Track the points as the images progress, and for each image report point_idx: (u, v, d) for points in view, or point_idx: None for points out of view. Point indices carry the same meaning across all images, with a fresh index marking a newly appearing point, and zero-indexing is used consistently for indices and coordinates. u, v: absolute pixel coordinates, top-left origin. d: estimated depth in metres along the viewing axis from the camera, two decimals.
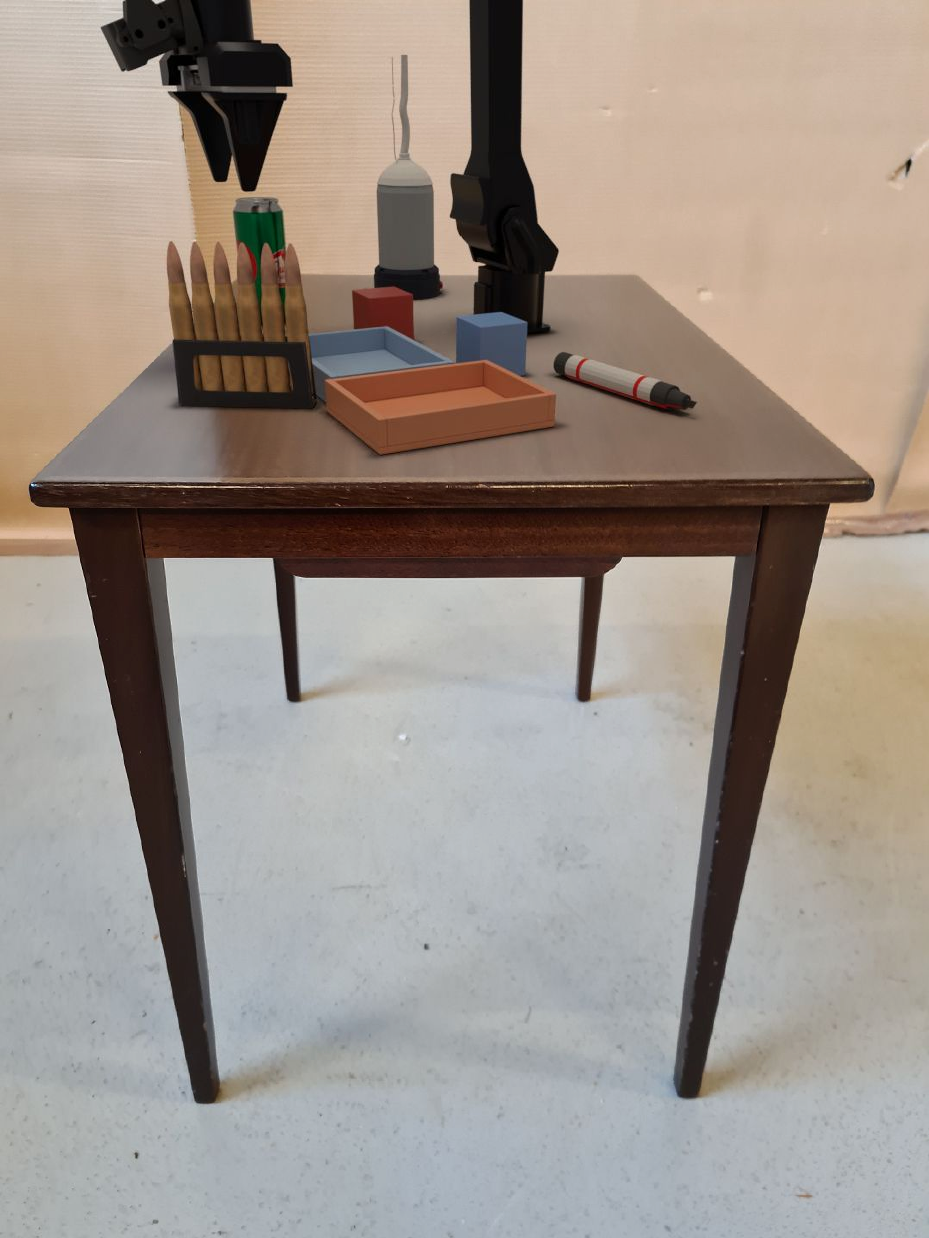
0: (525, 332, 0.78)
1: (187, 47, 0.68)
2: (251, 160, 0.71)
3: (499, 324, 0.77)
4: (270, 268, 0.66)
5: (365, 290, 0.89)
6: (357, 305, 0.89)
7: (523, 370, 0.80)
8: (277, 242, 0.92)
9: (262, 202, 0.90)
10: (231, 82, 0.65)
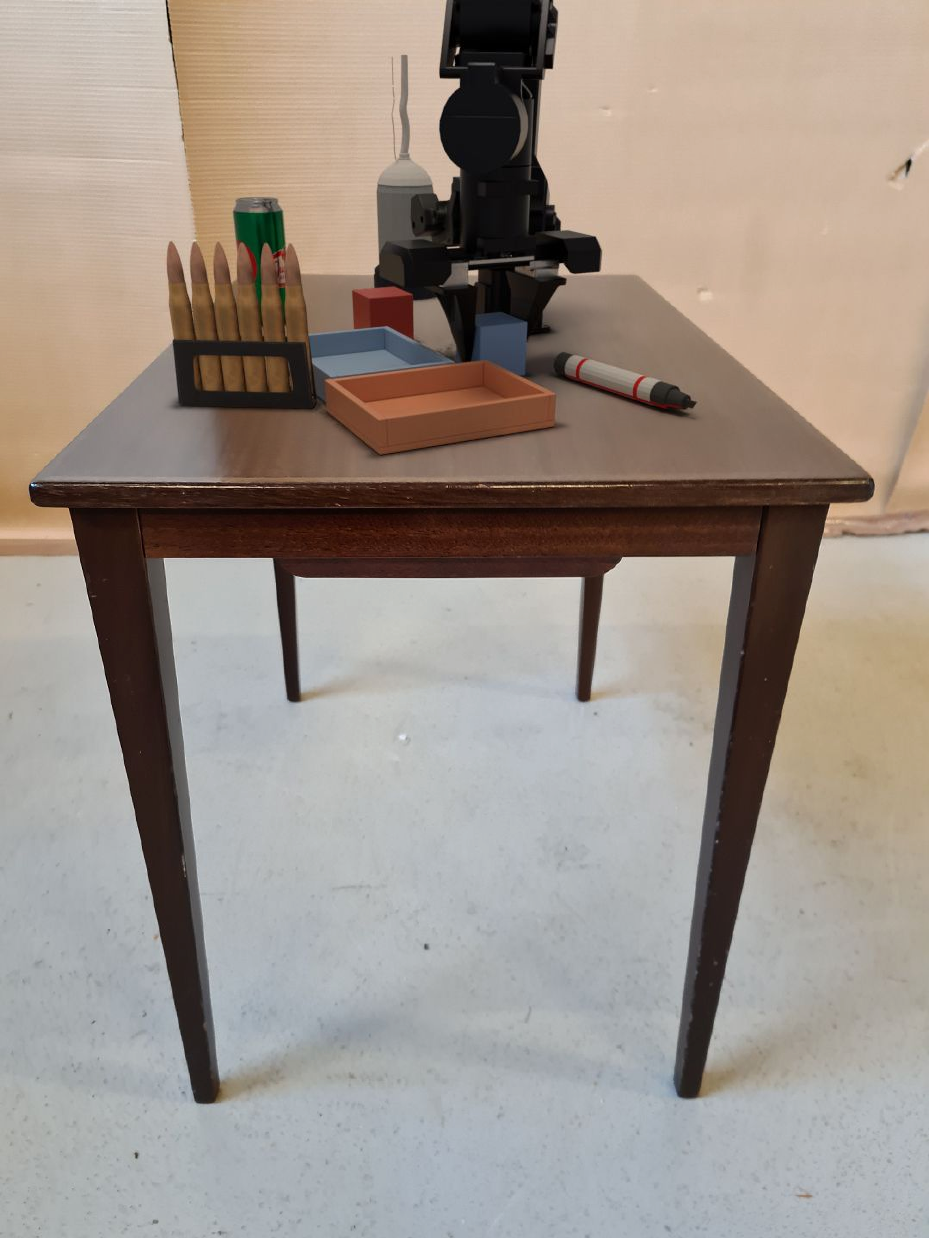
0: (525, 332, 0.78)
1: (446, 238, 0.76)
2: (458, 338, 0.77)
3: (499, 324, 0.77)
4: (270, 268, 0.66)
5: (365, 290, 0.89)
6: (357, 305, 0.89)
7: (523, 370, 0.80)
8: (277, 242, 0.92)
9: (262, 202, 0.90)
10: (383, 274, 0.74)
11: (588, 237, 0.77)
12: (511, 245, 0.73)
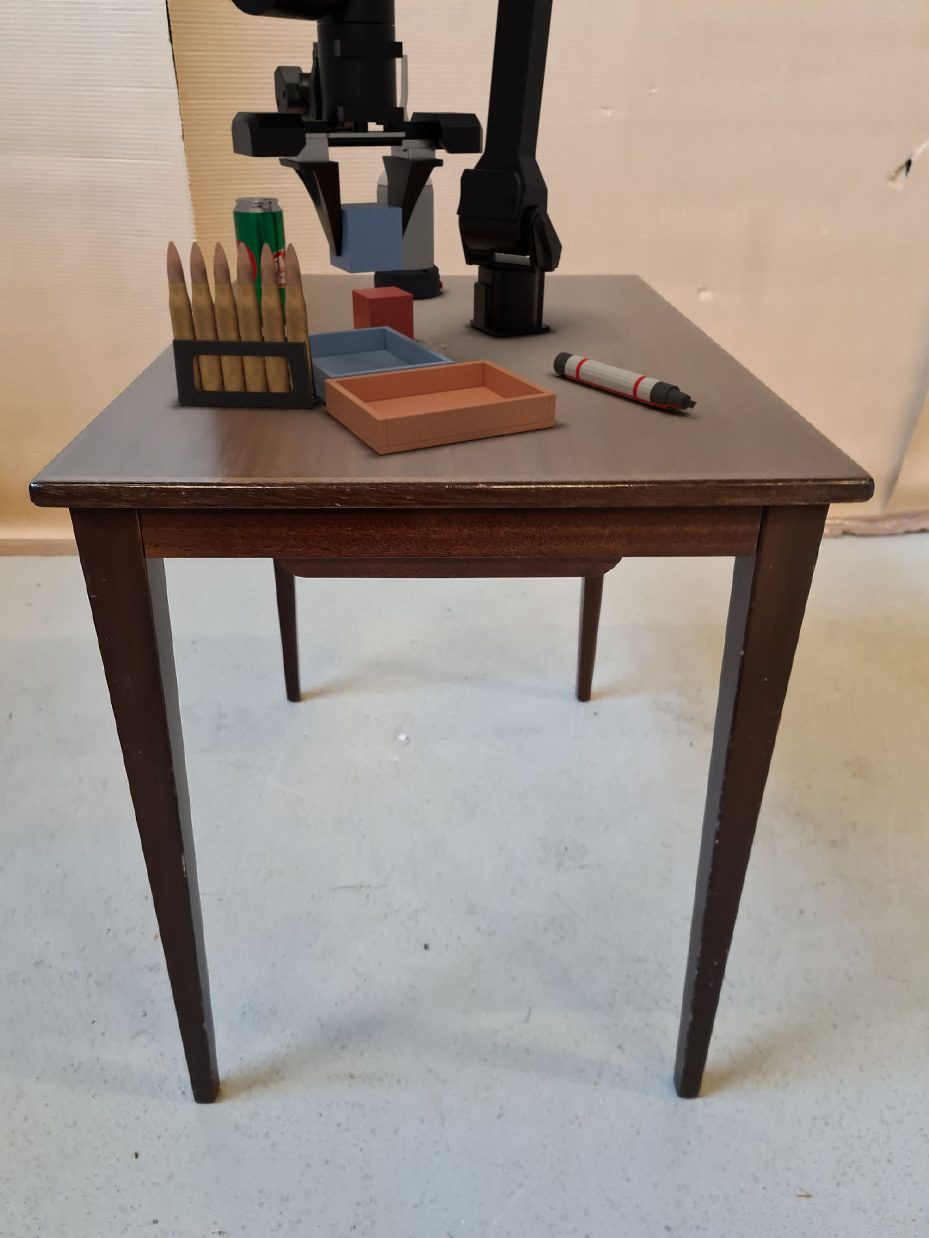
0: (400, 219, 0.71)
1: (310, 114, 0.70)
2: (326, 226, 0.71)
3: (369, 209, 0.70)
4: (270, 268, 0.66)
5: (365, 290, 0.89)
6: (357, 305, 0.89)
7: (400, 263, 0.73)
8: (277, 242, 0.92)
9: (262, 202, 0.90)
10: (236, 149, 0.67)
11: (466, 114, 0.70)
12: (375, 115, 0.66)
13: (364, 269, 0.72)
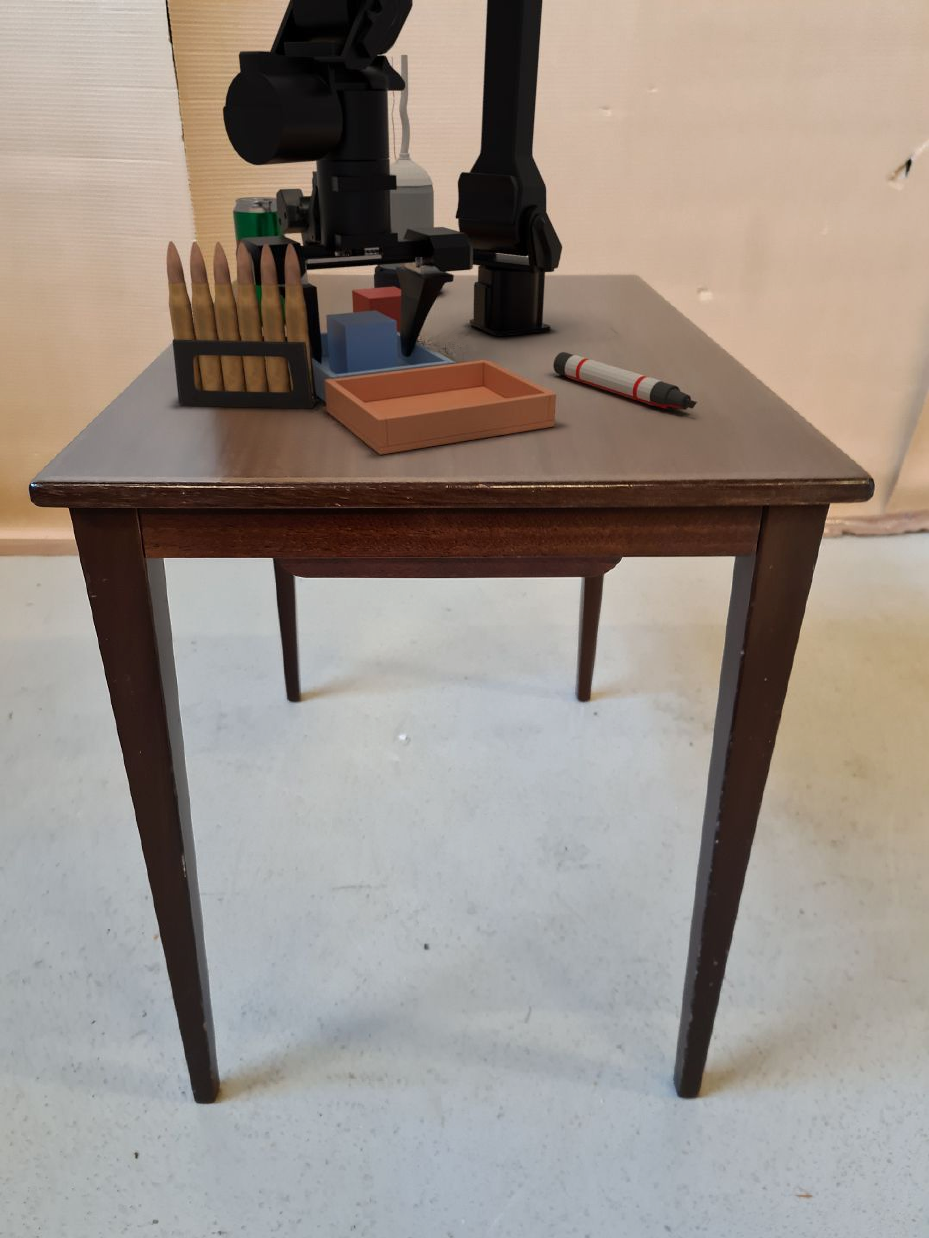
0: (395, 331, 0.75)
1: (310, 235, 0.74)
2: None
3: (366, 323, 0.74)
4: (270, 268, 0.66)
5: (365, 290, 0.89)
6: (357, 305, 0.89)
7: None
8: None
9: (262, 202, 0.90)
10: None
11: (457, 234, 0.74)
12: (371, 242, 0.71)
13: None
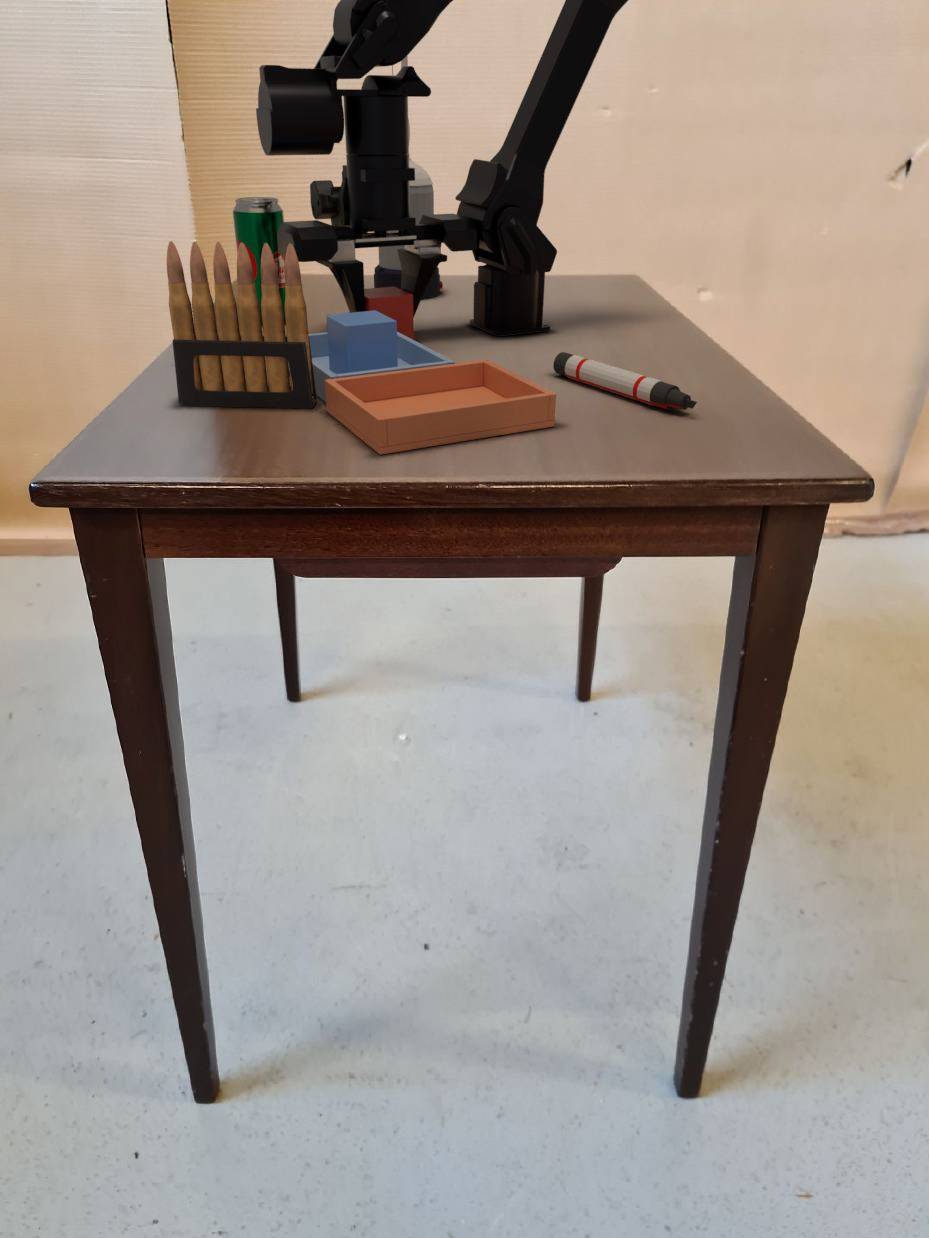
0: (395, 331, 0.75)
1: (339, 220, 0.86)
2: (352, 309, 0.87)
3: (366, 323, 0.74)
4: (270, 268, 0.66)
5: (365, 290, 0.89)
6: None
7: None
8: (277, 242, 0.92)
9: (262, 202, 0.90)
10: (281, 251, 0.84)
11: (466, 219, 0.86)
12: (392, 225, 0.83)
13: None
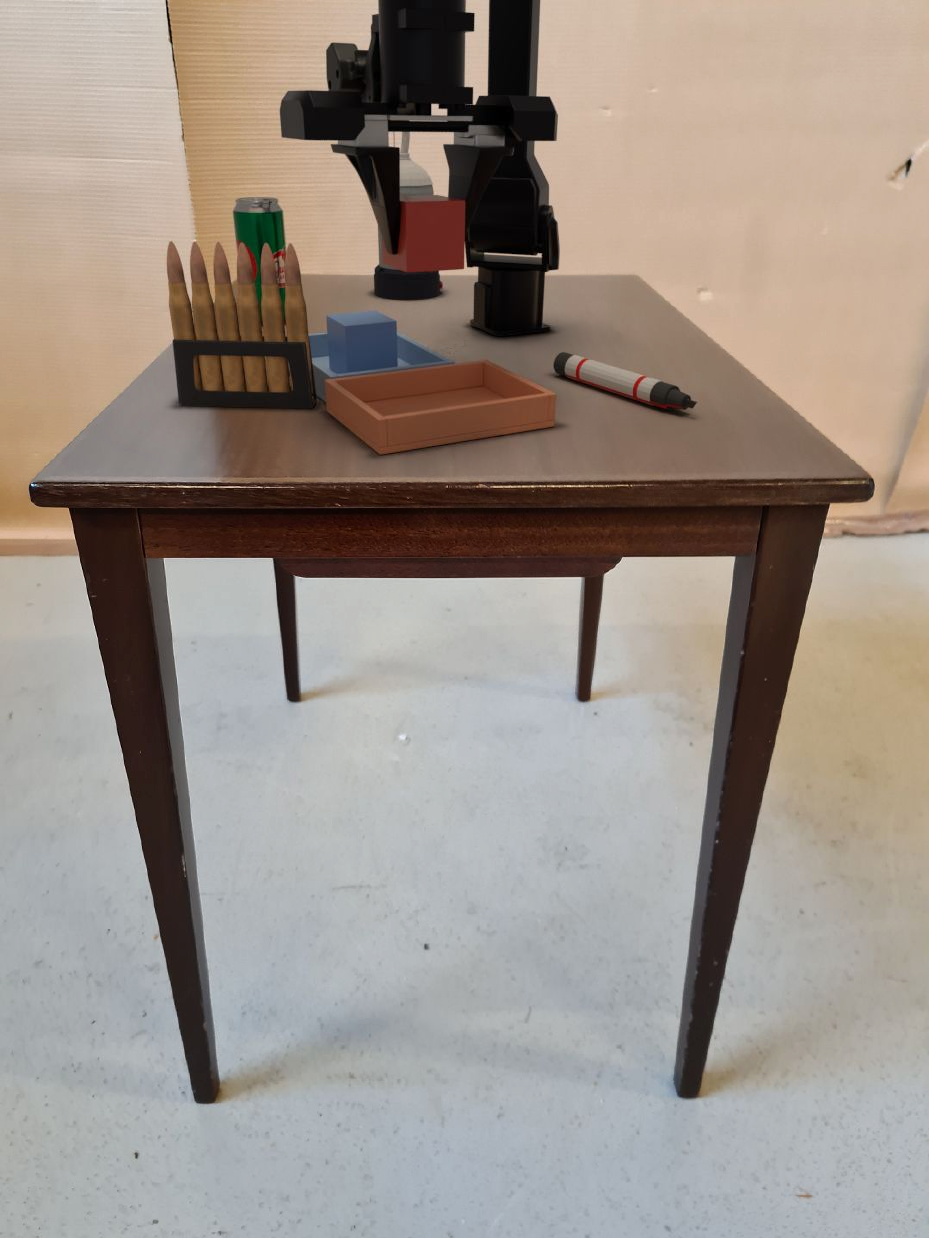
0: (395, 331, 0.75)
1: (366, 96, 0.63)
2: (381, 220, 0.63)
3: (366, 323, 0.74)
4: (270, 268, 0.66)
5: None
6: None
7: None
8: (277, 242, 0.92)
9: (262, 202, 0.90)
10: (285, 133, 0.60)
11: (540, 97, 0.63)
12: (441, 96, 0.59)
13: None
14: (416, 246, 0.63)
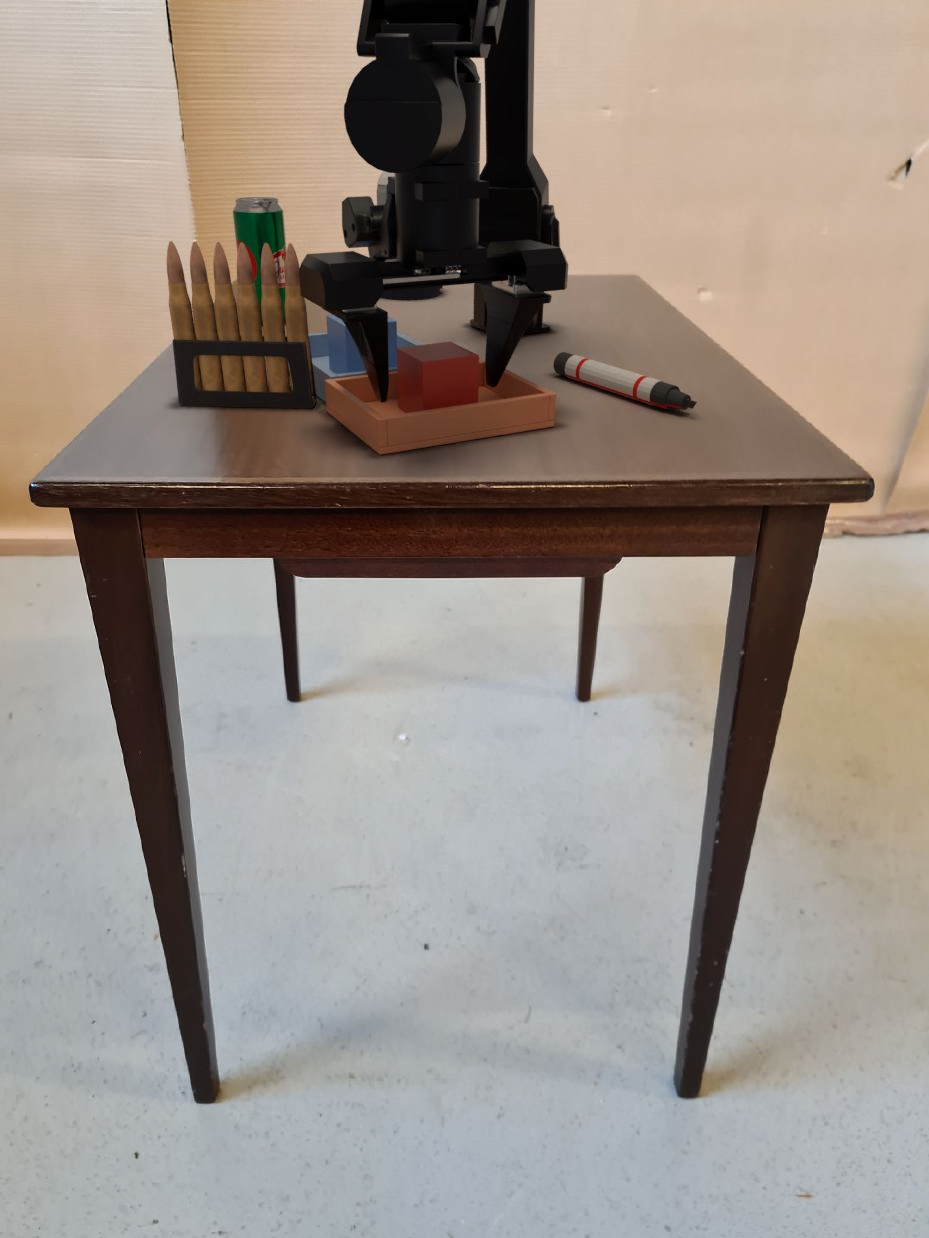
0: (395, 331, 0.75)
1: (382, 250, 0.64)
2: (370, 371, 0.64)
3: None
4: (270, 268, 0.66)
5: (414, 348, 0.67)
6: (404, 368, 0.67)
7: None
8: (277, 242, 0.92)
9: (262, 202, 0.90)
10: (304, 294, 0.62)
11: (551, 248, 0.64)
12: (457, 258, 0.61)
13: None
14: (432, 401, 0.66)
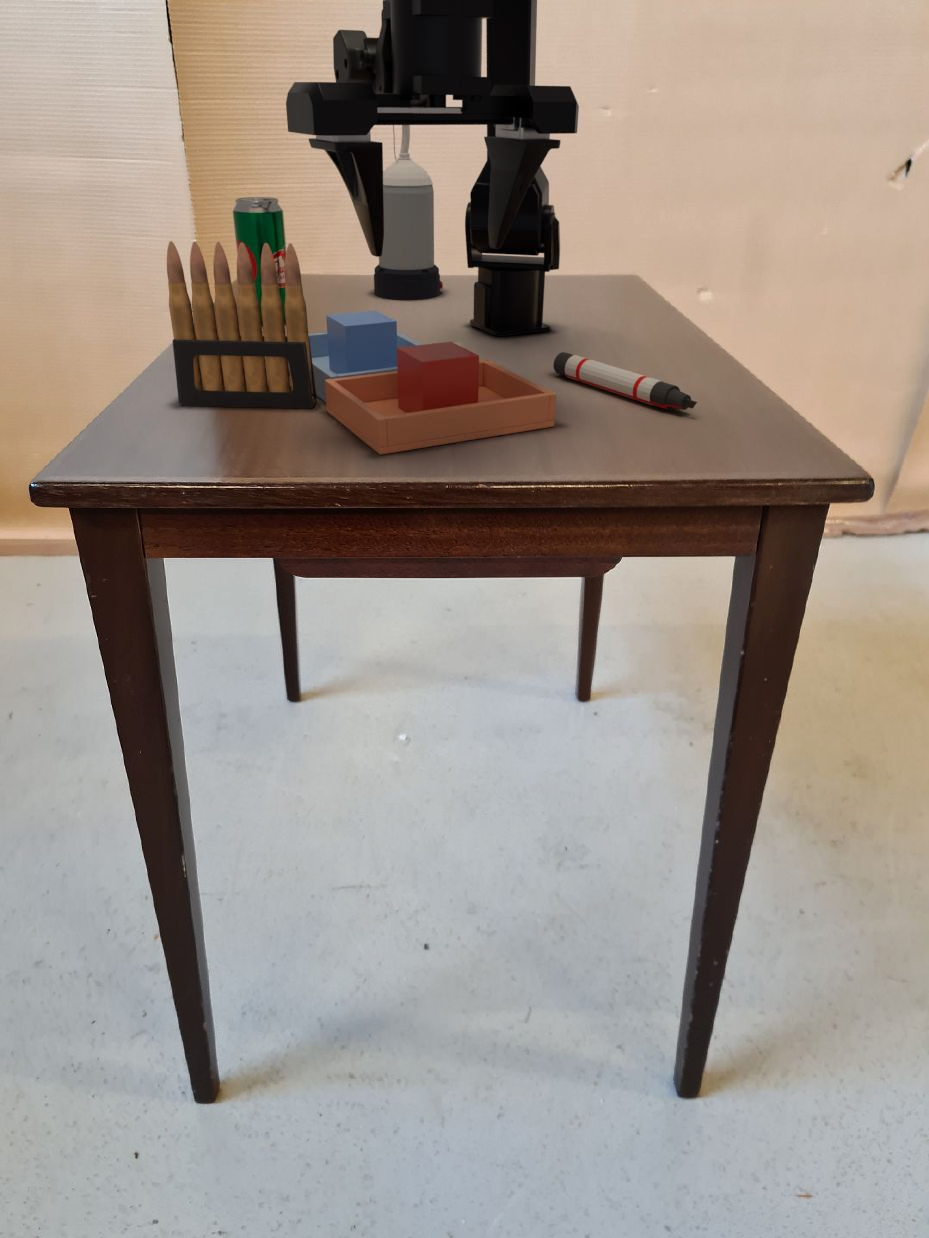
0: (395, 331, 0.75)
1: (376, 87, 0.59)
2: (364, 220, 0.59)
3: (366, 323, 0.74)
4: (270, 268, 0.66)
5: (414, 348, 0.67)
6: (404, 368, 0.67)
7: None
8: (277, 242, 0.92)
9: (262, 202, 0.90)
10: (292, 127, 0.57)
11: (560, 86, 0.59)
12: (458, 86, 0.56)
13: None
14: (432, 401, 0.66)
